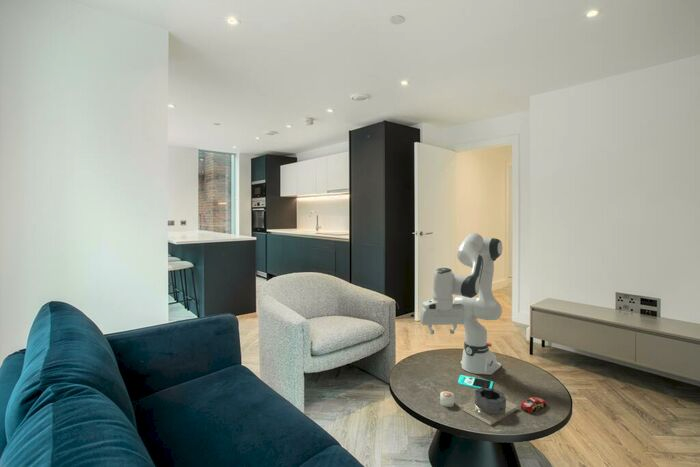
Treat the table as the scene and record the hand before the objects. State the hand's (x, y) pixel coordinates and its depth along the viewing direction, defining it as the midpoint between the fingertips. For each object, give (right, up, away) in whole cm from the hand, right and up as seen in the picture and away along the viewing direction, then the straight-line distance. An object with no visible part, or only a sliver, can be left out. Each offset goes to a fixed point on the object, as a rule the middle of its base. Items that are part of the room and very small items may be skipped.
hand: (442, 333), depth 163 cm
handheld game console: (+20, -29, +14) cm, 38 cm away
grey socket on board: (+18, -30, -10) cm, 36 cm away
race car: (+38, -30, -8) cm, 49 cm away
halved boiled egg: (+1, -30, -4) cm, 30 cm away
